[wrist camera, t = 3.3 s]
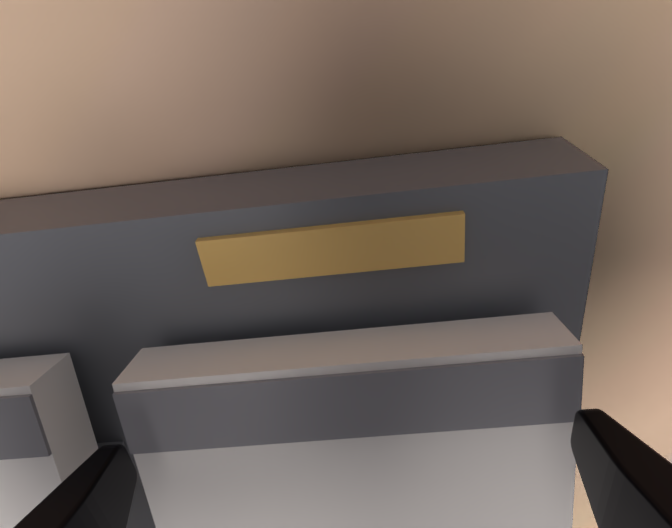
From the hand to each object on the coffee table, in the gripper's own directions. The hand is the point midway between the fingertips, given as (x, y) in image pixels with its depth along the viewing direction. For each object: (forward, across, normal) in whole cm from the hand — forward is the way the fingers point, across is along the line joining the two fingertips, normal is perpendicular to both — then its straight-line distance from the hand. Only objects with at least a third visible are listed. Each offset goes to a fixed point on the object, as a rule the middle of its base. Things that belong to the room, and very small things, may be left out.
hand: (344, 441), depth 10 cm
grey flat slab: (+1, 0, +4) cm, 4 cm away
